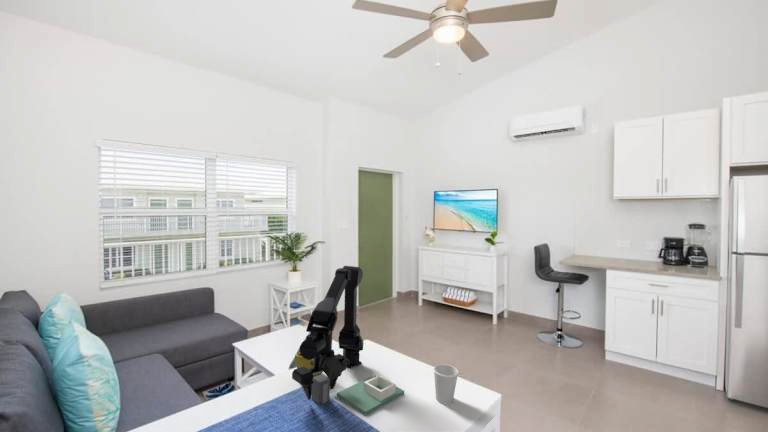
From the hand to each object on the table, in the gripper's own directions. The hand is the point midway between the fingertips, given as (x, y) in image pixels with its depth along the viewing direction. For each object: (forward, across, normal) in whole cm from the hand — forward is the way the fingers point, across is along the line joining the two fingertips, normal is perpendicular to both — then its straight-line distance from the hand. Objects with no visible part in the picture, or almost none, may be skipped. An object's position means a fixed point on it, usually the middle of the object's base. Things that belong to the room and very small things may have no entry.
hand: (320, 394), depth 112 cm
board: (+2, +14, -9) cm, 17 cm away
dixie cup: (+2, +31, -27) cm, 41 cm away
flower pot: (+2, +6, +14) cm, 15 cm away
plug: (+2, 0, 0) cm, 2 cm away
